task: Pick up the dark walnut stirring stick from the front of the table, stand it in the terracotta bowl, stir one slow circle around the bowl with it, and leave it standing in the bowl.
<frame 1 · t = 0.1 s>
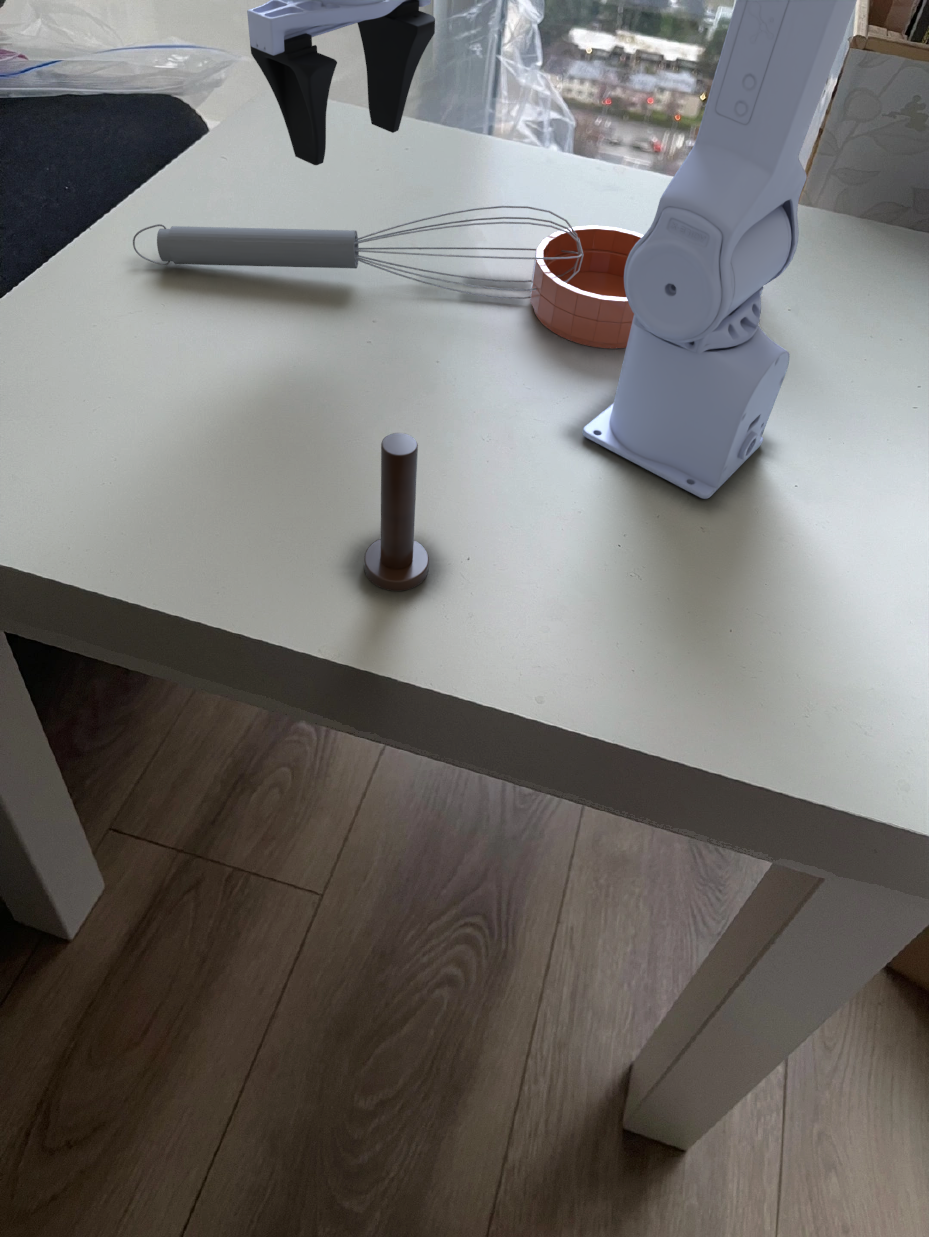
hand: (348, 143, 66), 10 cm above the table, tool pointing down, fingers open, 7 cm apart
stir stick: (396, 567, 53), on the table
bowl: (599, 310, 73), on the table
kitchen whisk: (363, 283, 73), on the table, touching bowl
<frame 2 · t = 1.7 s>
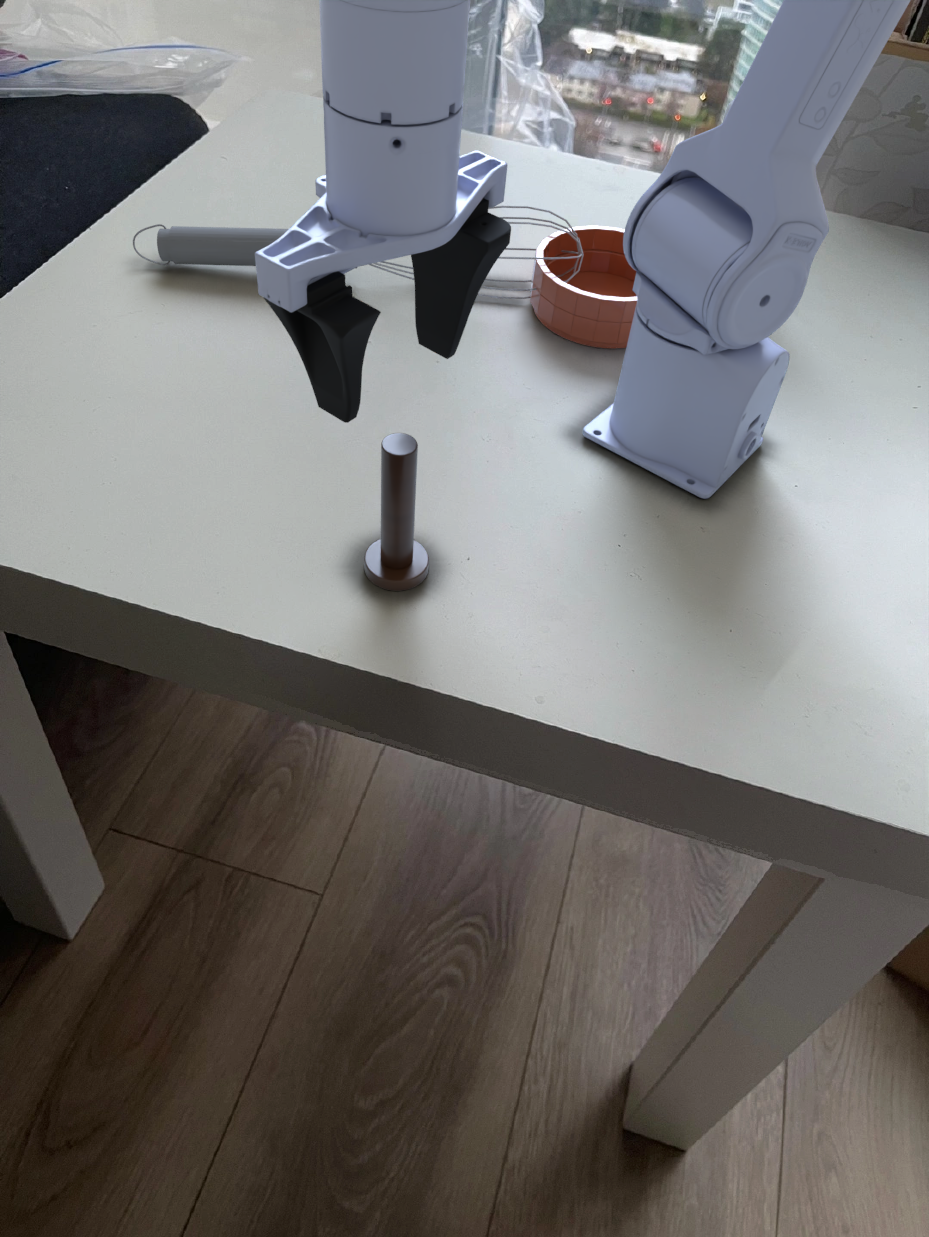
hand: (389, 379, 49), 10 cm above the table, tool pointing down, fingers open, 7 cm apart
nothing on the table moved.
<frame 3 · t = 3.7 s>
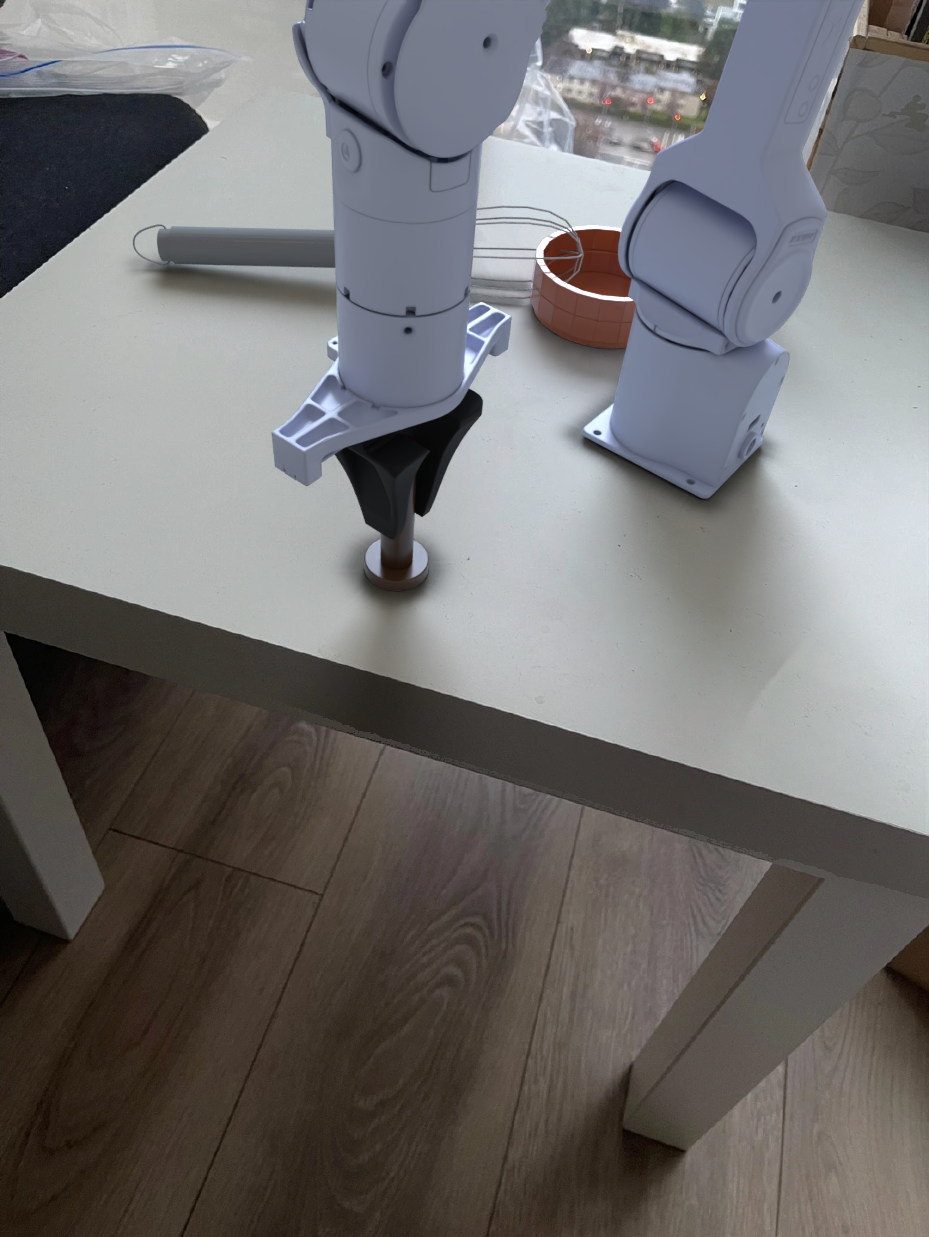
hand: (397, 516, 51), 4 cm above the table, tool pointing down, fingers closed on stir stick, 2 cm apart
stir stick: (396, 567, 53), on the table, touching gripper
everything else where it was.
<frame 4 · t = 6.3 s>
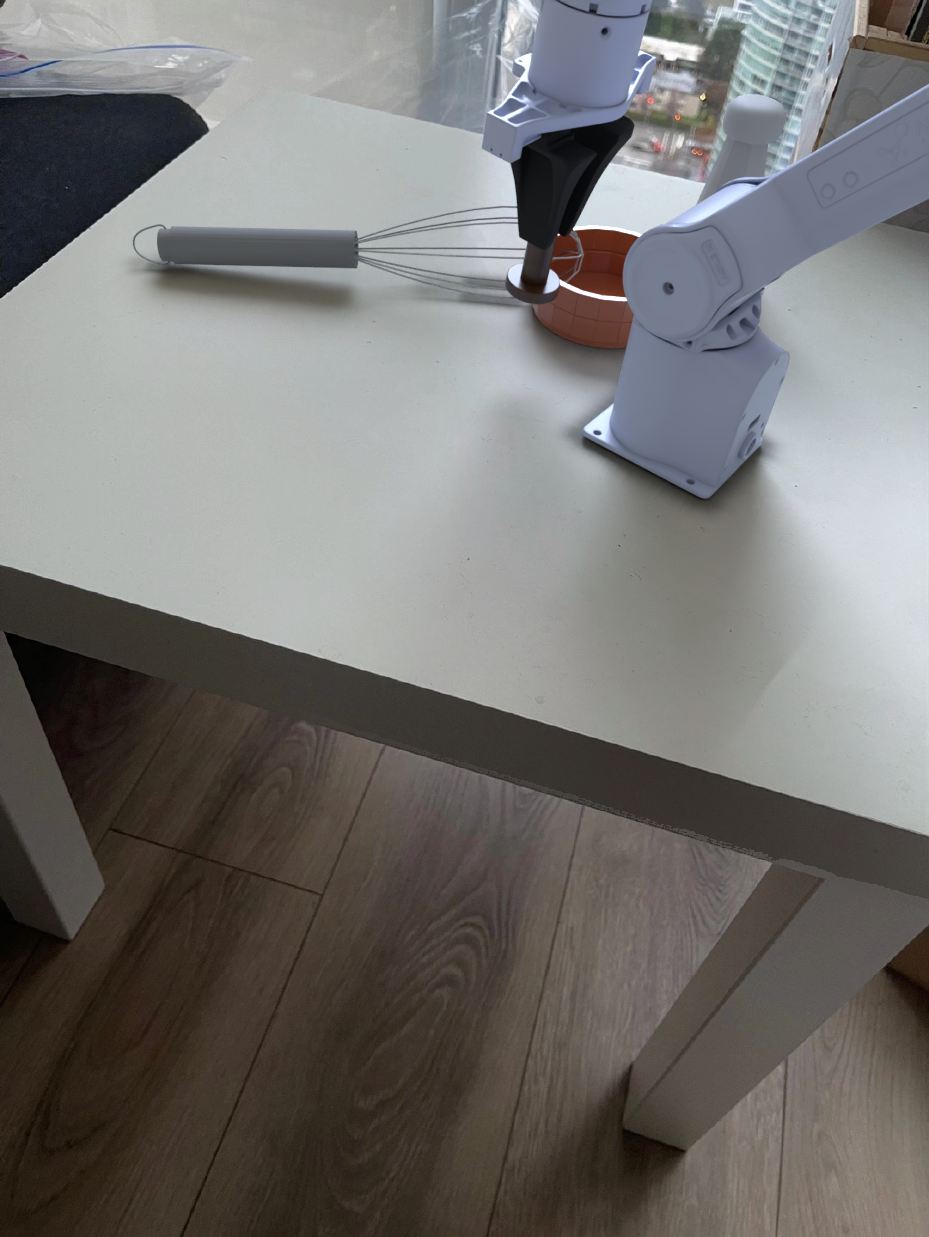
hand: (544, 235, 60), 9 cm above the table, tool pointing down, fingers closed on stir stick
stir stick: (531, 288, 63), point 6 cm above the table, touching gripper
everything else where it was.
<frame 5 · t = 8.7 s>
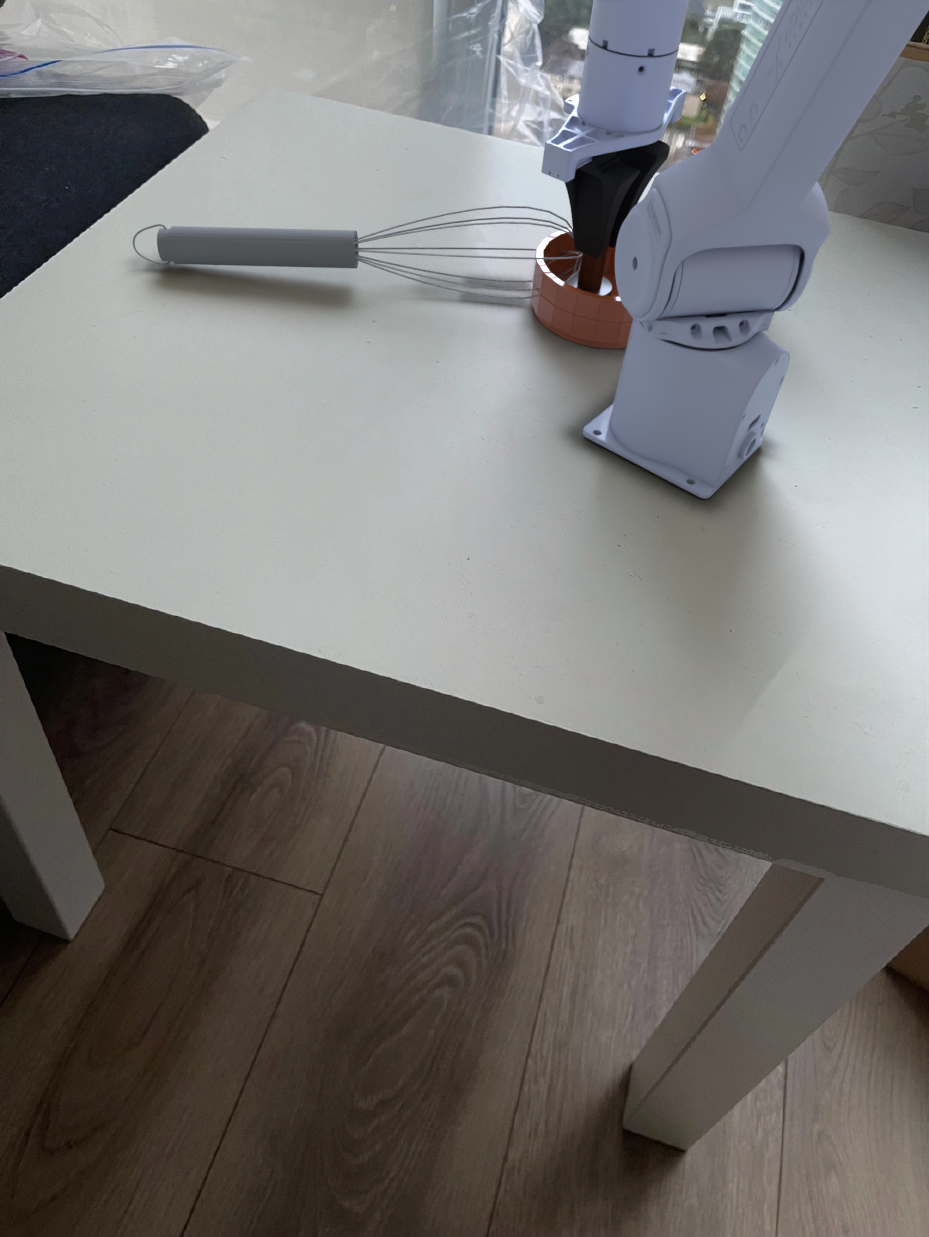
hand: (596, 247, 70), 5 cm above the table, tool pointing down, fingers closed on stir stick, 2 cm apart
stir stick: (587, 293, 73), point 1 cm above the table, touching gripper, kitchen whisk
kitchen whisk: (363, 283, 73), on the table, touching bowl, gripper, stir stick
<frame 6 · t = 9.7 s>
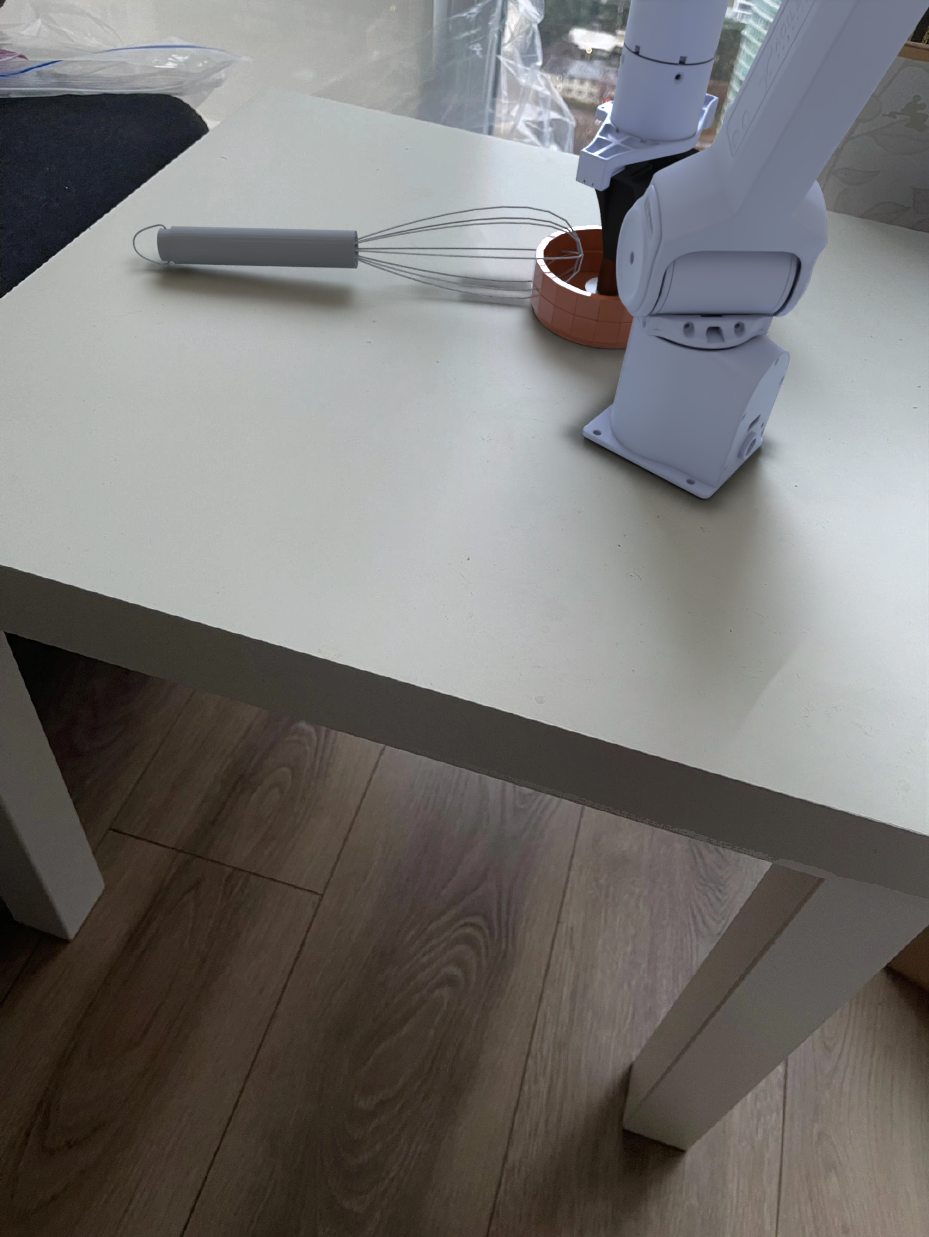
hand: (625, 254, 69), 5 cm above the table, tool pointing down, fingers closed on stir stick, 2 cm apart
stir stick: (606, 298, 72), point 1 cm above the table, touching gripper
kitchen whisk: (363, 283, 73), on the table, touching bowl
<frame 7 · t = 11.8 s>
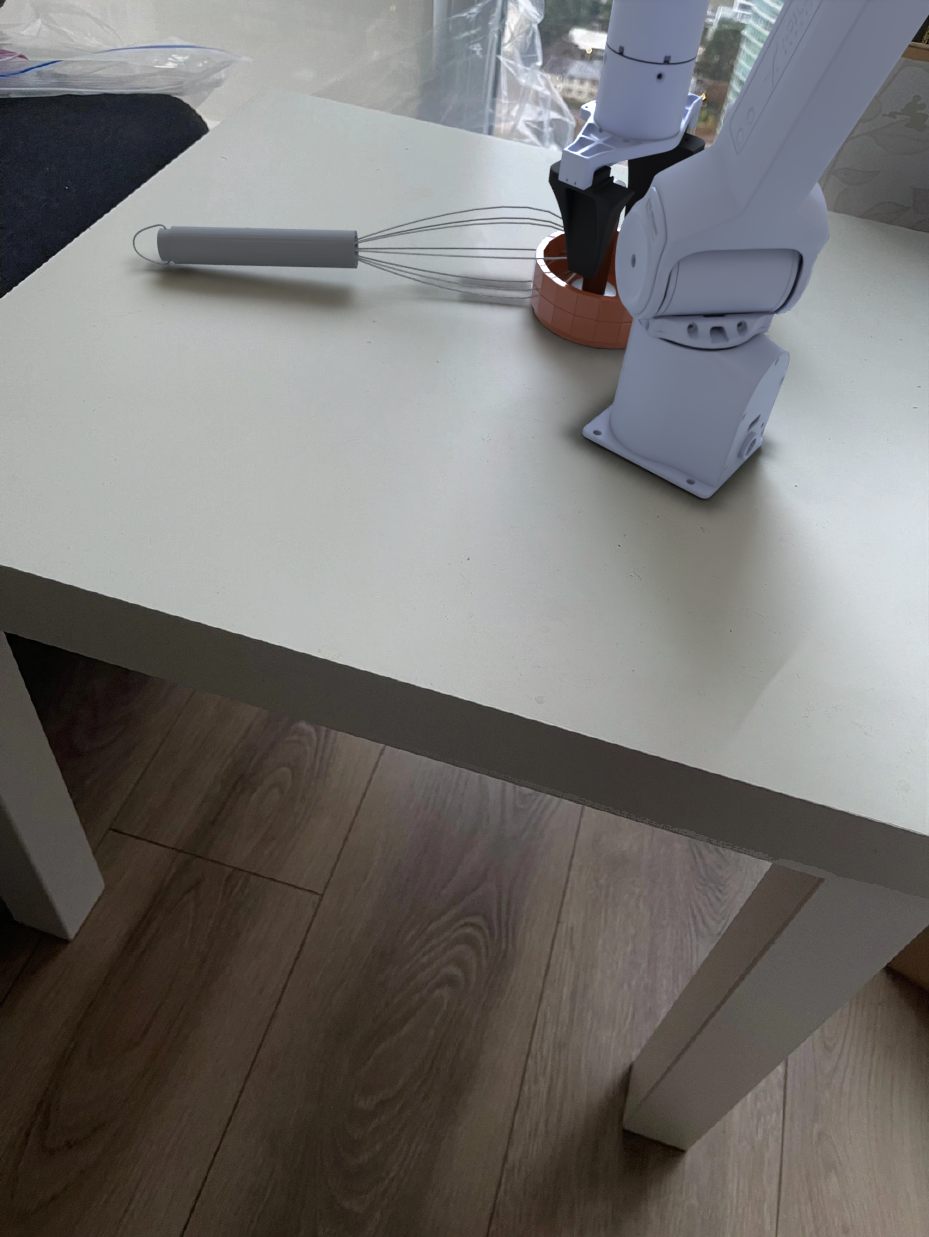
hand: (610, 254, 69), 5 cm above the table, tool pointing down, fingers open, 7 cm apart
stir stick: (591, 299, 73), point 1 cm above the table, touching bowl
everything else where it was.
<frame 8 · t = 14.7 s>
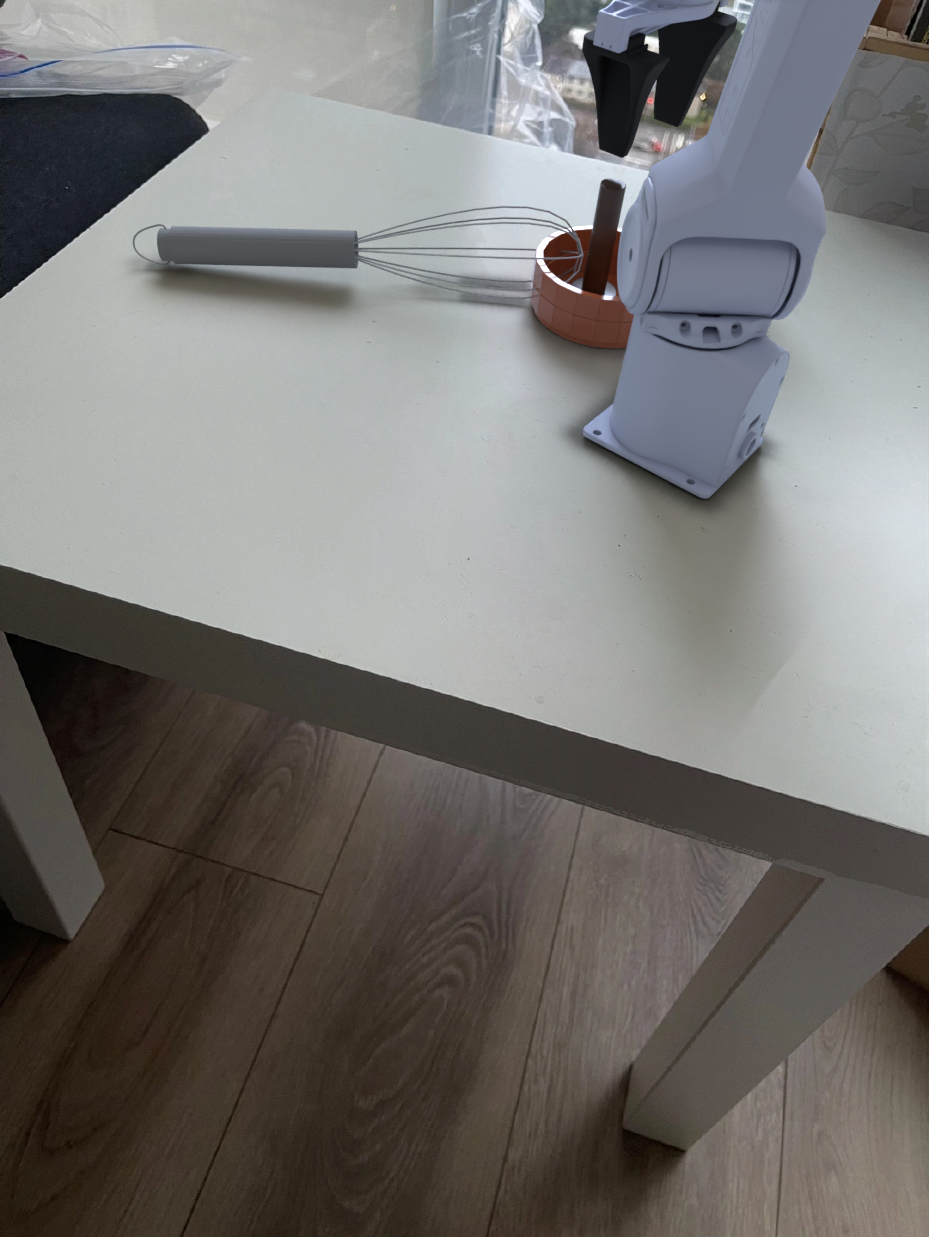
hand: (641, 136, 69), 10 cm above the table, tool pointing down, fingers open, 7 cm apart
nothing on the table moved.
at the end: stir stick 0.8 cm off-centre in the bowl, point 0.6 cm above the bowl's base; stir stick tilted 0°; the gripper is holding nothing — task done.
